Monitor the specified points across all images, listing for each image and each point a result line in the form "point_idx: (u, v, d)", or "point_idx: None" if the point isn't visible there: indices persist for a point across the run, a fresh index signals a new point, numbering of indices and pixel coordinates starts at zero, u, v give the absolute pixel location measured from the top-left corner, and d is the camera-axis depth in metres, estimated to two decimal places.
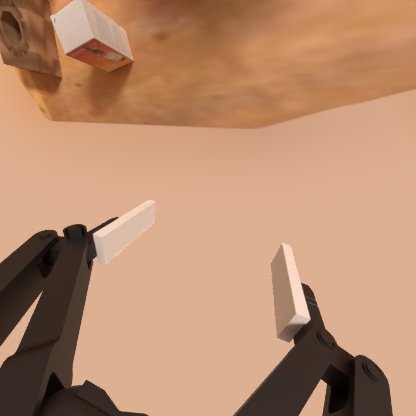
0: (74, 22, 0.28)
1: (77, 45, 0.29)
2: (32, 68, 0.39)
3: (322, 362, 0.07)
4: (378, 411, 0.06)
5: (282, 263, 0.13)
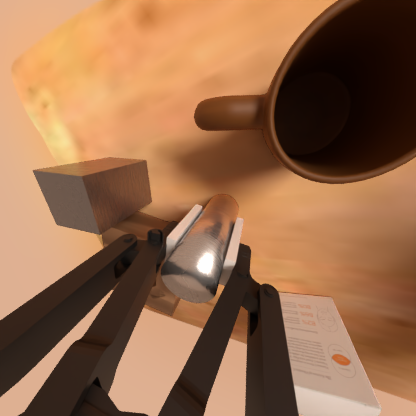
0: (337, 412, 0.15)
1: None
2: (159, 309, 0.27)
3: (242, 289, 0.10)
4: (274, 317, 0.09)
5: None
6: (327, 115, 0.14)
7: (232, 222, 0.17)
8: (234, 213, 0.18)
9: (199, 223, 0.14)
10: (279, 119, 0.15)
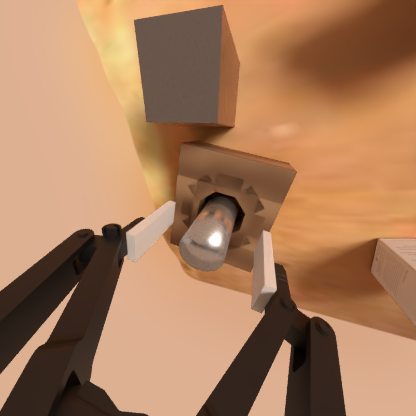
0: None
1: None
2: (233, 264, 0.22)
3: (285, 323, 0.08)
4: (328, 359, 0.07)
5: (261, 247, 0.14)
6: None
7: (235, 210, 0.19)
8: (236, 202, 0.21)
9: (207, 209, 0.17)
10: None
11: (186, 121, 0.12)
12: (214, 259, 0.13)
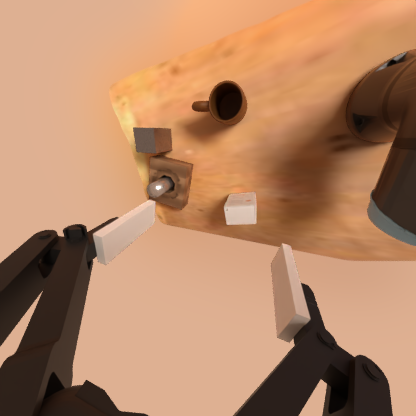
0: (243, 214, 0.41)
1: (240, 224, 0.42)
2: (174, 206, 0.53)
3: (322, 362, 0.07)
4: (378, 411, 0.06)
5: (282, 263, 0.13)
6: (239, 107, 0.40)
7: (172, 181, 0.50)
8: None
9: None
10: (223, 108, 0.42)
11: (148, 152, 0.43)
12: (157, 192, 0.44)
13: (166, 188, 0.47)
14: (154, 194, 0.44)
